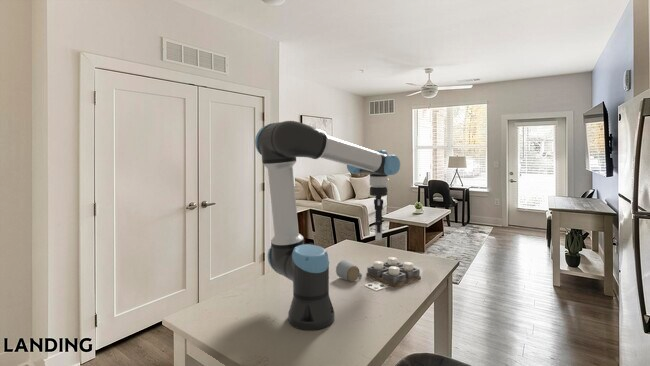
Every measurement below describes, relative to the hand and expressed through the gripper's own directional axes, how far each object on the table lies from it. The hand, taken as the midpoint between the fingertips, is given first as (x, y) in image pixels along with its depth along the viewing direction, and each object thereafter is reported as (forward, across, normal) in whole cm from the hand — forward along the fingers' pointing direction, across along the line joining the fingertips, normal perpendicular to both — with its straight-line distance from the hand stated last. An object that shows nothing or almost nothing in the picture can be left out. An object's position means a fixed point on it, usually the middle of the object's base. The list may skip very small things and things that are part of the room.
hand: (378, 236), depth 145 cm
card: (+18, -11, +1) cm, 21 cm away
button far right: (+15, 0, -13) cm, 20 cm away
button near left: (+15, 0, 0) cm, 15 cm away
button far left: (+15, +6, -6) cm, 17 cm away
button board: (+18, 0, -6) cm, 19 cm away
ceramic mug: (+18, -4, +12) cm, 22 cm away
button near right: (+15, -6, -6) cm, 17 cm away
